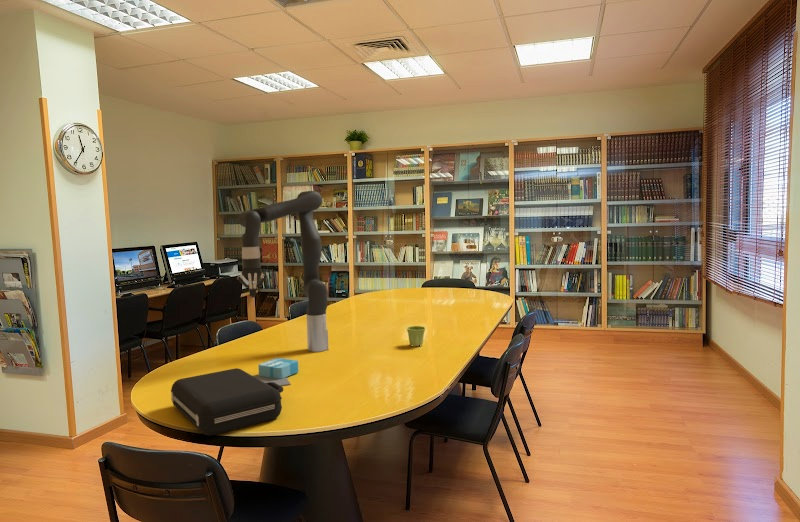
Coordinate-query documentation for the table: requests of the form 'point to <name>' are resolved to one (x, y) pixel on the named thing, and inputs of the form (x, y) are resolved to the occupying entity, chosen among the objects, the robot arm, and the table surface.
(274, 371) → the data package
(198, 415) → the briefcase
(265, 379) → the mat
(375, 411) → the table surface
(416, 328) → the plant pot
